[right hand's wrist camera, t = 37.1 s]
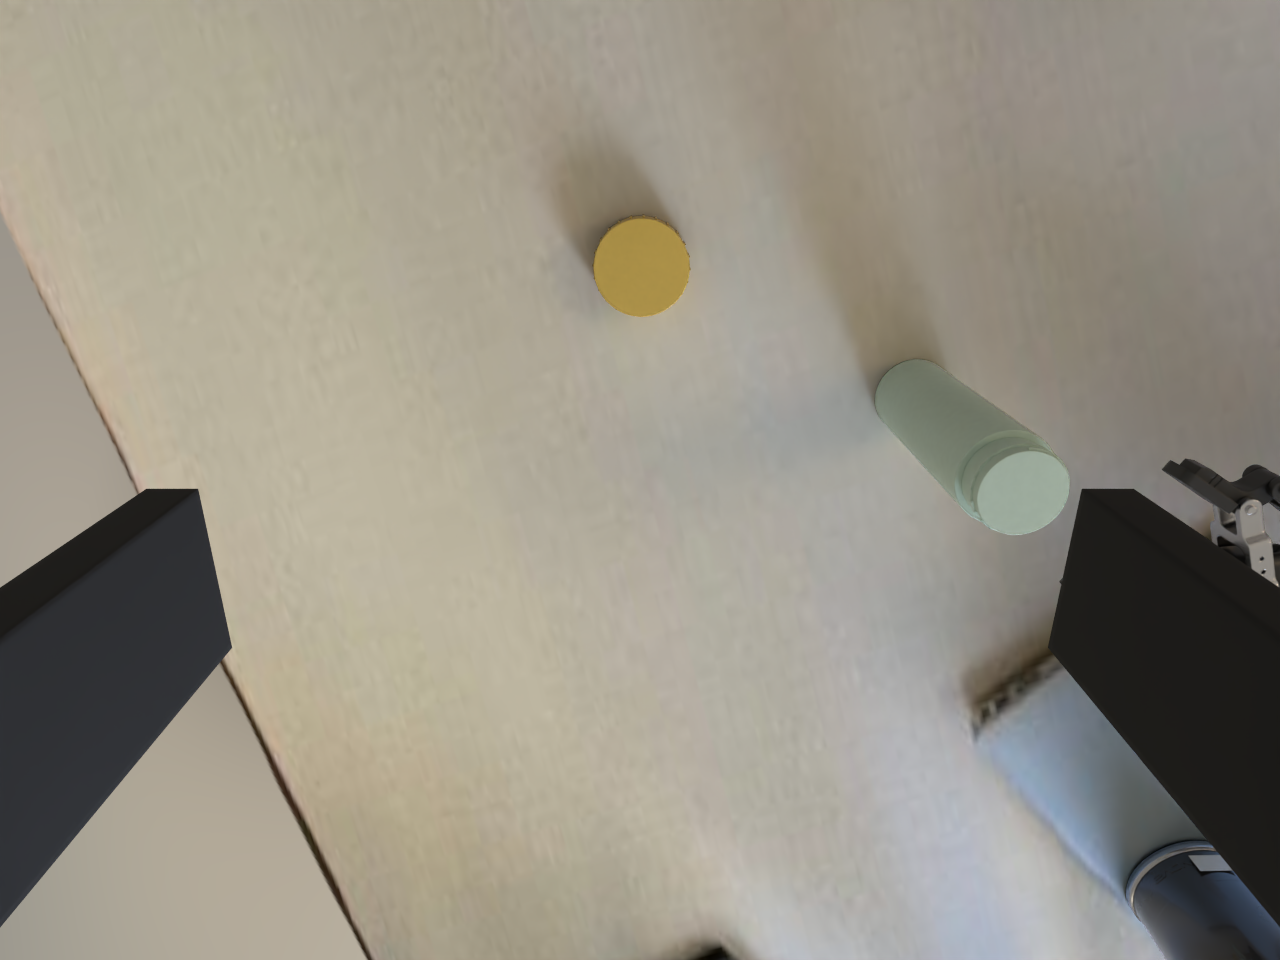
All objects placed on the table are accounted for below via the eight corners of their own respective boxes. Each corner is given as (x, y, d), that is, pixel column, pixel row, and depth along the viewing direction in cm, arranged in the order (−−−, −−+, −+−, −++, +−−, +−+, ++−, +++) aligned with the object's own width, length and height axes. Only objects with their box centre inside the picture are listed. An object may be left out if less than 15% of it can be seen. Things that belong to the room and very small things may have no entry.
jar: (940, 436, 55) (1058, 547, 39) (867, 428, 54) (957, 536, 39) (959, 363, 53) (1091, 450, 37) (884, 354, 53) (985, 437, 37)
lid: (691, 306, 51) (693, 313, 49) (599, 315, 52) (598, 321, 50) (685, 209, 49) (687, 212, 47) (589, 219, 49) (587, 222, 47)
